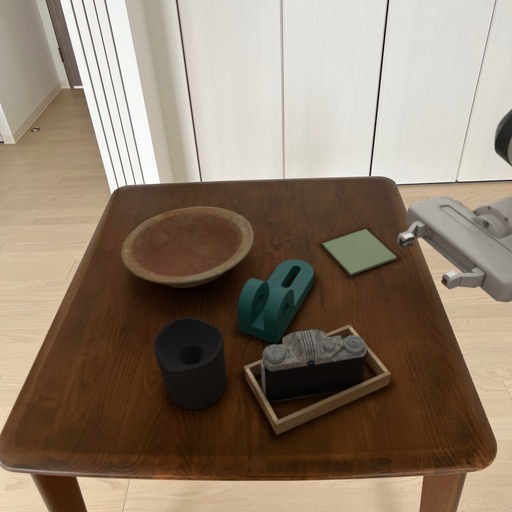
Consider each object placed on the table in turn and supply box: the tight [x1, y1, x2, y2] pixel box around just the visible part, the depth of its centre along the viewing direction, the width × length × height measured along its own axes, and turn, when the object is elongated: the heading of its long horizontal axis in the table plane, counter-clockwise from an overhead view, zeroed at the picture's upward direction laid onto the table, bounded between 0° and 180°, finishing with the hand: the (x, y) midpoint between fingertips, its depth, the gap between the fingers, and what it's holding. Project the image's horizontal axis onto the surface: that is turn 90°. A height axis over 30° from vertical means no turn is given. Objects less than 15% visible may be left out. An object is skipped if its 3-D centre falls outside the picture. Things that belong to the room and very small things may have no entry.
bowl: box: [120, 205, 255, 289], centre depth 93 cm, size 24×24×8 cm
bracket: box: [237, 259, 314, 345], centre depth 85 cm, size 18×7×8 cm, turn 153°
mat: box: [322, 228, 397, 277], centre depth 97 cm, size 10×10×1 cm
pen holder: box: [153, 316, 227, 411], centre depth 72 cm, size 9×9×10 cm
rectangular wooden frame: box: [243, 324, 392, 436], centre depth 74 cm, size 11×18×2 cm, turn 115°
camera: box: [260, 328, 367, 403], centre depth 72 cm, size 15×7×10 cm, turn 99°
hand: (421, 261), depth 69 cm, fingers open, 8 cm apart
